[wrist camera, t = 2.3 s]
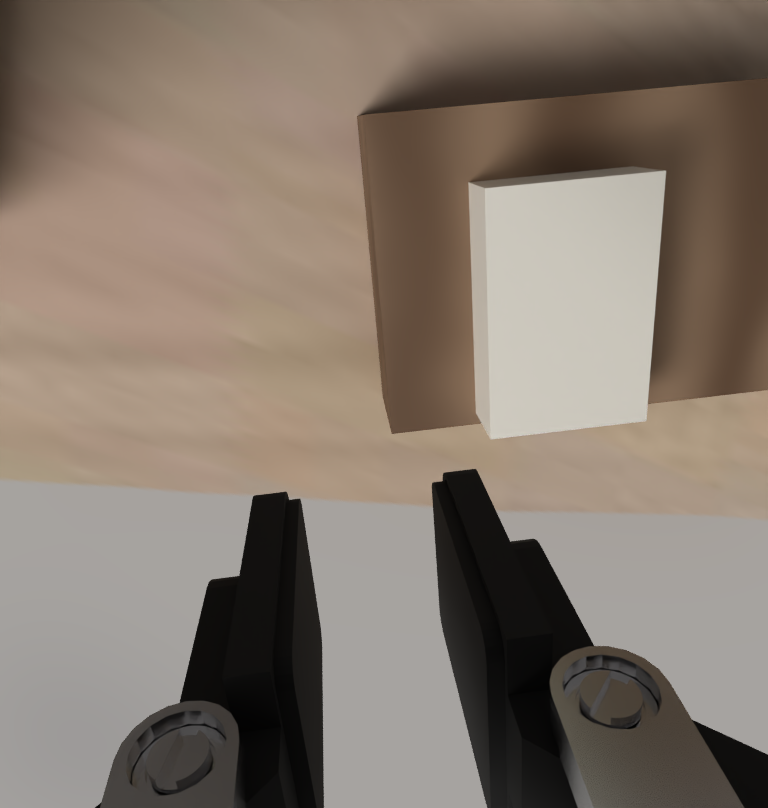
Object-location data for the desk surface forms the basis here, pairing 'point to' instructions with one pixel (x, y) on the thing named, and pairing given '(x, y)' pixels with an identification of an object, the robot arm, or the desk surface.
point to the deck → (562, 153)
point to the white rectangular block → (564, 298)
